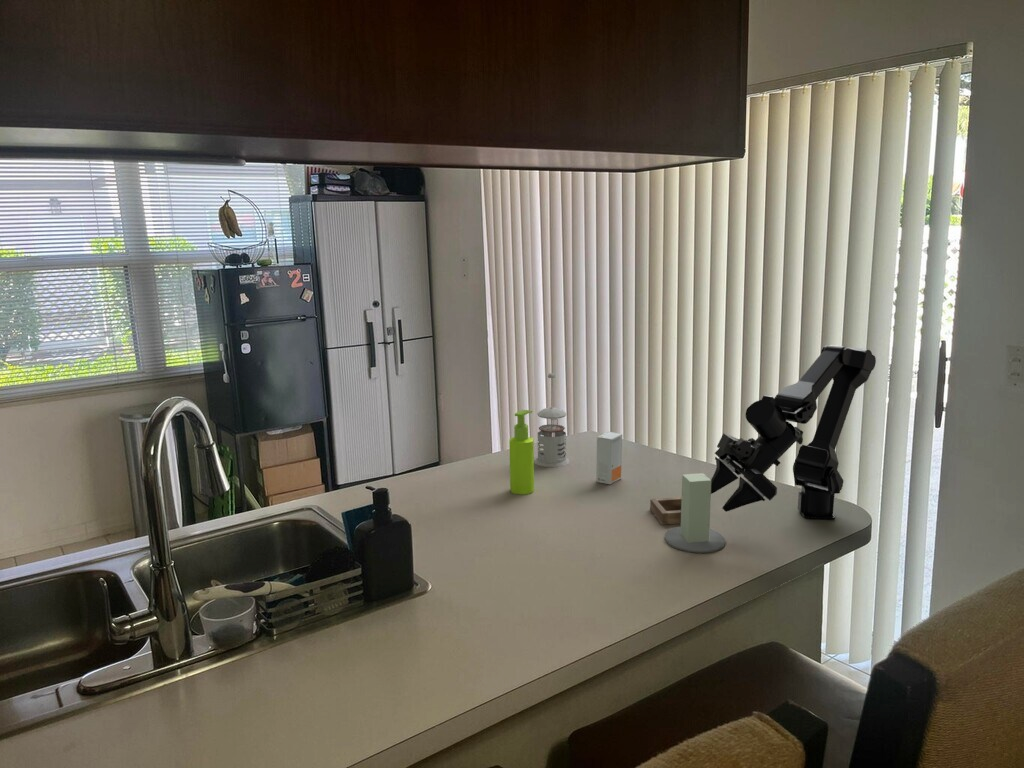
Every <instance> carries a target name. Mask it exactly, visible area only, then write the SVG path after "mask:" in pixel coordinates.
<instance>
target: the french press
mask: <svg viewBox="0 0 1024 768" xmlns="http://www.w3.org/2000/svg"><path fill="white" fill-rule="evenodd" d="M547 378H548V379H550V407H545V408H543V409H541V410H539V411H538V412H537V413H536V415H537V416H538V417H539V418H541V419H546V420H547V419H550V423H549V424H543V425H540V426H539V427H538V430H539V431H538V432H537V458H536V459H535V460H534V464H535V465H538V466H540V467H547V468H548V467H549V468H558V467H564V466H566V465H569V463H571V461H570V460H569V458H568V457H567V433H566V431H565V430H566V427H565V426H564V425H561V424H558V422H559V420H558V419H562V418H564V417H566V416H567V412H566V411H564V410H563V409H560V408H558V407H553V389H552V388H553V378H556V377H555V374H554V373H552V372H551V373H548V375H547ZM553 421H556V424H553ZM553 433H554V436H553ZM541 449H542V450H541Z"/></svg>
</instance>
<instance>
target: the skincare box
mask: <svg viewBox="0 0 1024 768" xmlns="http://www.w3.org/2000/svg"><path fill="white" fill-rule="evenodd" d="M622 463H623V433H617V432H613V431H608V432H605V433H602V434H601V435H598V436H597V437H596V470H595V471H596V482H597V483H601V484H606V485H612V484H614V483H615V482H617V481H619V480H621V479H622V466H623V464H622Z"/></svg>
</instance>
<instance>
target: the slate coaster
mask: <svg viewBox="0 0 1024 768" xmlns="http://www.w3.org/2000/svg"><path fill="white" fill-rule="evenodd" d="M680 533H681V525H680V526H677V527H672V528H670V529H668V530H667V531H665V534H664V541H665V543H666V544H667V545H669V546H670V547H672V548H674V549H677V550H679V551H682V552H686V553H687V552H688V553H692V554H693V553H697V554H699V553H700V554H706V553H707V554H708V553H712V552H717V551H720V550H721V549H723V548H724V546H725V545H726V544H725V543H726V539H725V536H724V535H723V534H721V533H720V532H718V531H717V530H714V529H711V528H709V541H706V542H692V543H688V542H687V541H686V540H685V539H684V537H683V536H682V535H681V534H680Z"/></svg>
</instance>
